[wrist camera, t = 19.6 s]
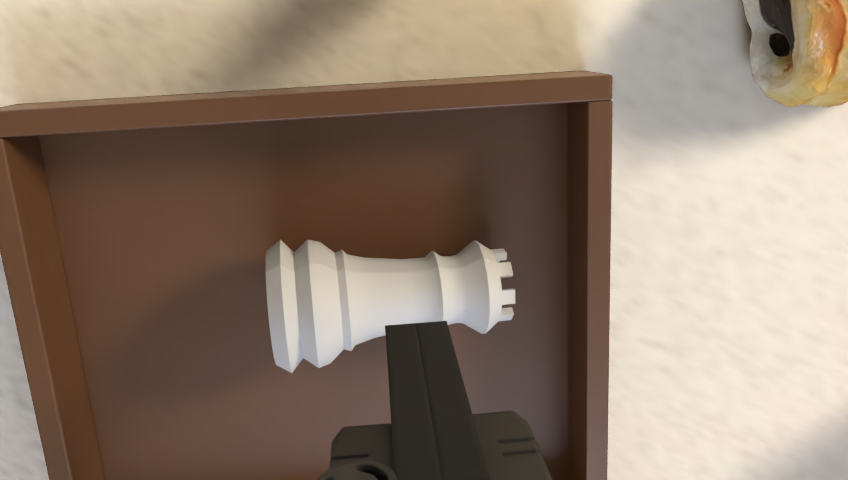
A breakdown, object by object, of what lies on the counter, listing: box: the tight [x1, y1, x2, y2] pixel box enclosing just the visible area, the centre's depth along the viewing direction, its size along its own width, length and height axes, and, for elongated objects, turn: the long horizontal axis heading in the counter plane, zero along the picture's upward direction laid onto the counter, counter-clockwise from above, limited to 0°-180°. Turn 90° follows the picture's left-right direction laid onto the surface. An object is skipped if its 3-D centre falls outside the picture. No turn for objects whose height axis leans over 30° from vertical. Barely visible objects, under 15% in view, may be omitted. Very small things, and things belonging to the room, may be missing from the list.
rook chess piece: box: [266, 240, 515, 373], centre depth 25 cm, size 4×4×8 cm
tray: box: [0, 71, 613, 480], centre depth 26 cm, size 18×20×3 cm
